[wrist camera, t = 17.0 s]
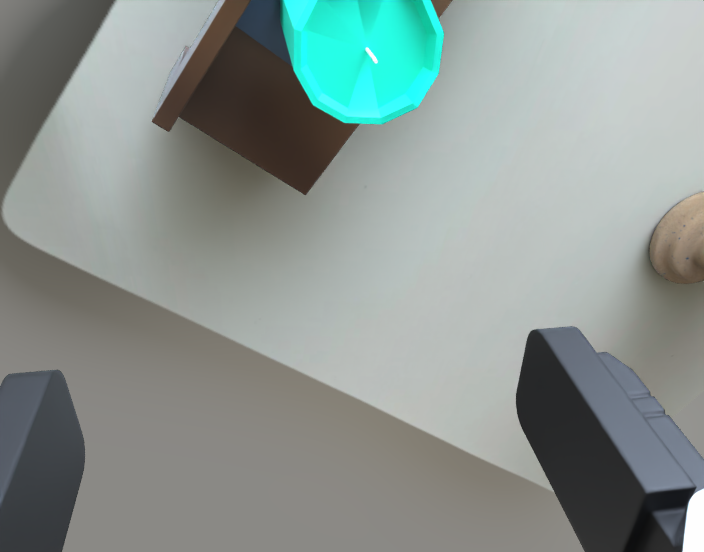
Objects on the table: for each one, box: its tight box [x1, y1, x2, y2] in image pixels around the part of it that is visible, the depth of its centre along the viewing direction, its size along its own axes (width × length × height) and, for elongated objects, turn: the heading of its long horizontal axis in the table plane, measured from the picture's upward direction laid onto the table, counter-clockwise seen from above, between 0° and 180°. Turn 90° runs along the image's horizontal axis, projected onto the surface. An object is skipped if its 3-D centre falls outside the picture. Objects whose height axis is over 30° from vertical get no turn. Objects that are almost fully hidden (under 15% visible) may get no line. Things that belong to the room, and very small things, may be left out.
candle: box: [280, 0, 444, 124], centre depth 28 cm, size 6×6×12 cm
